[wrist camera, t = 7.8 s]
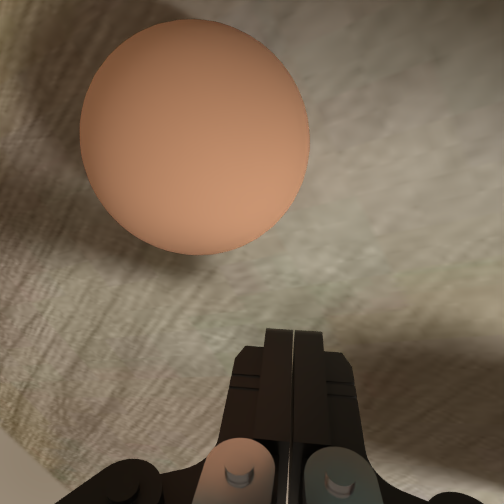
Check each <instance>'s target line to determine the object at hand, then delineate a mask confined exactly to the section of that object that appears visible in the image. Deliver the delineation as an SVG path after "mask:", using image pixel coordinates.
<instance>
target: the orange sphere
mask: <svg viewBox="0 0 504 504" xmlns="http://www.w3.org/2000/svg"><path fill="white" fill-rule="evenodd" d="M80 148H81V156H82V160H83V164H84V167H85V170H86V173H87V176H88V179H89V181H90V184H91V186H92V188H93V190H94V192H95V194H96V195H97V197H98V199H99V200H100V202H101V203H102V205H103V206H104V207H105V209H106V210H107V211H108V213H109V214H110V215H111V216H112V217H113V218H114V219H115V220H116V221H117V222H118V223H119V224H120V225H121V226H122V227H123V228H125V229H126V230H127V231H129V232H130V233H131V234H133V235H134V236H136V237H137V238H139V239H141V240H143V241H145V242H146V243H149V244H151V245H153V246H155V247H158V248H160V249H163V250H166V251H170V252H175V253H180V254H187V255H210V254H217V253H223V252H226V251H230V250H233V249H236V248H239V247H241V246H243V245H245V244H247V243H249V242H251V241H253V240H255V239H257V238H259V237H260V236H261V235H262V234H264V233H265V232H266V231H268V230H269V229H270V228H271V227H273V226H274V225H275V224H276V223H277V222H278V221H279V219H280V218H281V217H282V216H283V215H284V214H285V213H286V211H287V210H288V208H289V207H290V205H291V204H292V202H293V201H294V199H295V197H296V195H297V193H298V191H299V189H300V187H301V184H302V182H303V179H304V175H305V172H306V168H307V164H308V157H309V150H310V135H309V126H308V118H307V114H306V110H305V106H304V102H303V100H302V97H301V95H300V92H299V90H298V88H297V86H296V84H295V82H294V80H293V78H292V77H291V75H290V74H289V72H288V71H287V69H286V68H285V67H284V65H283V64H282V63H281V62H280V60H279V59H278V58H277V57H276V56H275V55H274V54H273V53H272V52H271V51H270V50H269V49H268V48H266V47H265V46H264V45H263V44H262V43H260V42H259V41H257V40H256V39H254V38H253V37H251V36H250V35H248V34H246V33H244V32H242V31H240V30H238V29H235V28H233V27H231V26H228V25H225V24H222V23H218V22H214V21H207V20H198V19H180V20H175V21H170V22H165V23H160V24H156V25H154V26H151V27H149V28H147V29H144V30H142V31H140V32H138V33H136V34H134V35H133V36H131V37H130V38H128V39H127V40H125V41H124V42H123V43H122V44H121V45H119V46H118V47H117V48H116V49H115V50H114V51H113V52H112V53H111V54H110V55H109V56H108V57H107V58H106V60H105V61H104V62H103V64H102V65H101V66H100V68H99V69H98V71H97V72H96V74H95V75H94V78H93V80H92V82H91V84H90V86H89V88H88V91H87V93H86V96H85V99H84V103H83V107H82V112H81V119H80Z"/></svg>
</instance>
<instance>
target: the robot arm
mask: <svg viewBox="0 0 504 504" xmlns="http://www.w3.org/2000/svg"><path fill="white" fill-rule="evenodd" d="M292 342H293V330H286V329H271V328H266V333H265V342H264V347H255V346H245V347H244V348H243V349H242V351H241V352H240V353H239V354H238V355H237V357H236V358H235V361H234V366H233V370H232V376H231V380H230V385H229V390H228V394H227V399H226V404H225V409H224V414H223V418H222V423H221V428H220V433H219V438H218V441H217V444H216V446H215V447H214V448H213V449H212V451H211V452H210V453H209V455H208V456H207V457H206V458H205V459H204V460H202V461H201V462H199V463H198V464H196V465H194V466H191V467H189V468H185V469H182V470H177V471H172V472H168V473H163V474H159V472H158V470H157V469H156V468H155V467H154V466H153V465H152V464H150V463H149V462H147V461H144V460H140V459H126V460H122V461H118V462H116V463H113V464H111V465H110V466H108V467H106V468H105V469H103V470H102V471H100V472H99V473H98V474H96V475H95V476H93V477H92V478H91V479H89V480H88V481H86V482H85V483H83V484H82V485H81V486H79V487H78V488H76V489H75V490H73V491H72V492H71V493H69V494H68V495H66V496H65V497H64V498H62V499H61V500H59V501H58V502H56V503H55V504H286V491H287V477H288V462H289V491H288V504H483V503H482V502H480V501H478V500H477V499H475V498H473V497H471V496H468V495H465V494H462V493H457V492H443V493H440V494H437V495H435V496H434V497H432V498H431V499H430V500H429V502H428V501H426V500H423V499H421V498H418V497H416V496H413V495H411V494H408V493H406V492H403V491H401V490H399V489H397V488H395V487H393V486H392V485H390V484H388V483H387V482H386V481H385V480H383V479H382V478H381V477H380V476H379V475H378V474H377V473H376V471H375V470H374V469H373V467H372V466H371V464H370V462H369V460H368V458H367V455H366V451H365V445H364V439H363V433H362V426H361V420H360V414H359V408H358V402H357V395H356V389H355V386H354V377H353V371H352V366H351V365H350V364H349V362H348V361H347V359H346V358H345V357H344V355H343V354H342V353H339V352H325V351H324V348H323V335H322V332H316V331H302V330H295V336H294V351H293V367H292ZM291 381H292V383H291ZM289 448H290V453H289Z"/></svg>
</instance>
